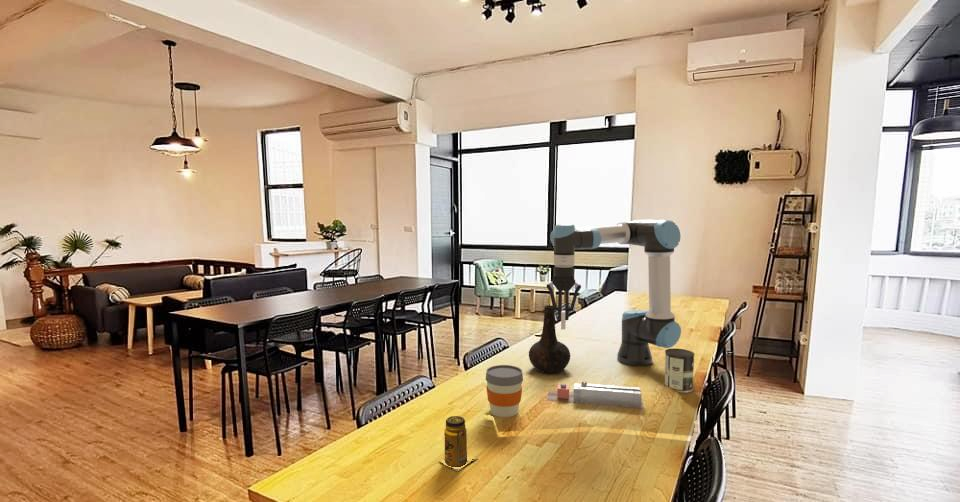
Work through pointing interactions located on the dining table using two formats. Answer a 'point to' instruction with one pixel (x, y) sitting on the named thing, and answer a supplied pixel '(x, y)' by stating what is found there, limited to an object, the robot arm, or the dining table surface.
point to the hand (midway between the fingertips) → (563, 328)
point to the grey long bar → (606, 396)
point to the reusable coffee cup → (504, 389)
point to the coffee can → (679, 369)
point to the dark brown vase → (549, 347)
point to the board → (553, 397)
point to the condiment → (456, 442)
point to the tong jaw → (611, 387)
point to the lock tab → (563, 391)
